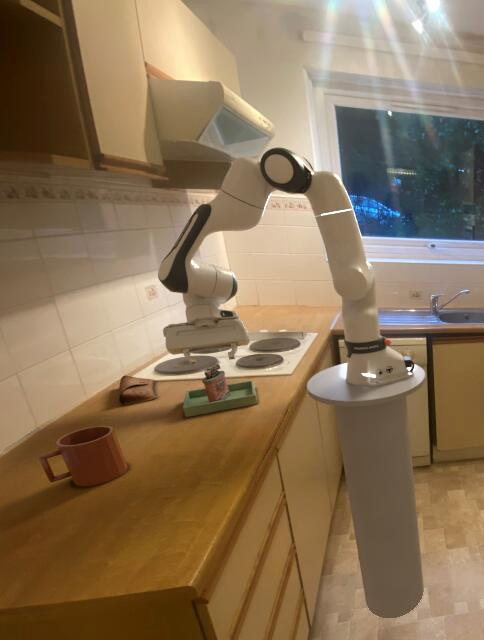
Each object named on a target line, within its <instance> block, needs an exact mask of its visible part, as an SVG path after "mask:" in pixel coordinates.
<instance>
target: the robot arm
mask: <svg viewBox="0 0 484 640" xmlns="http://www.w3.org/2000/svg"><path fill="white" fill-rule="evenodd" d="M276 191H280V192H283V193H285V194H290V195H304V197H305V198H306V199H307V200H308V203H309V204H310V206H311V209H312V212H313V215H314V218H315V221H316V224H317V227H318V230H319V233H320V236H321V239H322V242H323V246H324V249H325V254H326V259H327V263H328V268H329V272H330V276H331V279H332V285H333V288H334V290H335V292H336V293H337V294H338V295H339V296H340V297H341V320H342V327H343V333H344V339H343V342H344V345H343V347H344V352H345V356H346V363H347V376H346V382H348V383H349V384H352V385H360V386H369V387H377V386H381V385H385V384H388V383H392V382H396V381H399V380H403V379H407V378H410V377H413V376H414V371H413V369H414V364H415V362H414V361H413V360H412V358H411V355H405V356H403V355H402V354H401V353H400V352H398V351H397V350H395V349H393V348H392V347H390V346H391V345H392V340H391V339H389V338H388V337H385V336H383V335H381V330H380V329H381V328H380V320H379V308H378V307H379V306H378V287H377V275H376V271H375V268H374V266H373V265H372V264H371V263H370V262H369V261H368V260H367V256H366V251H365V247H364V244H363V237H362V233H361V230H360V227H359V223H358V220H357V217H356V216H357V215H356V214H355V210H354V207H353V204H352V201H351V199H350V195H349V194H348V192H347V188H346V187H345V185H344V183H343V181H342V179H341V178H340V176H339V175H338V174H336V173H335V172H332V171H330V170H329V171H328V170H320V171H319V170H318V171H316V170H314V168H313V166H312V164H311V162H309V160H308V159H307V158H305V157H304V156H302V155H301V154H300V153H298V152H297V151H294V150H292V149H287V148H285V147H272V148H270V149H268V150H266V151H265V152H264V153H263V154H262V156H261V158H260V161H259V160H257V159H256V158H253V157H250V156H239V157H236V158H235V159H234V161H233V162H232V163H231V165H230V167H229V169H228V170H227V172H226V175H225V176H224V178H223V181H222V183H221V186H220V189H219V191H218V194H216V196H215V197H214V198H213V199H212V200H211V201H209V202H207V203H202V204H199V206H198V207H196V209H195V210H194V212H193V213H192V215H191V217H189V219H188V221H187V223H185V226H184V228H183V229H182V231H181V233H180V235H179V236H178V238H177V239H176V241H175V242H174V245H173V246H172V248H171V250H170V251H169V252H168V253H167V255H165V257H164V259H163V260H162V261H161V263H160V265H159V268H158V271H157V277H158V281H159V282H160V283H161V285H163V287H164V288H165V289H167V290H168V291H169V292H171V293H176V294H182V300H183V301H182V302H183V303H184V305H185V318H186V322H179V323H169V324H168V325H166V326H164V328H163V329H162V333H163V337H164V338H165V348H166V350H167V352H168V353H169V354H171V355H184V357H185V358H186V359H187V360H188V362H189V365H190V366H196V365H198V362H197V358H196V356H191V353H198V352H204V351H212V350H220V349H227V348H228V349H229V348H231V350H230V351H228V352H227V356H228V359H229V360H230V361H231V360H236V353H237V351H238V347H244V346H248V345H249V343H250V342H251V341H250V338H249V333H248V331H247V328H246V326H245V323H243V321H242V320H241V319H240V316H239V313H238V312H237V311H234V310H227V309H223V308H221V305H224V304H226V303H227V302H228V301H230V300H232V299H233V298H234V297H235V296H236V294H237V293H238V286H239V285H238V280H237V278H236V274H234V272H233V271H232V270H231V269H229V268H226V267H222V266H220V265H219V266H218V265H215V264H210V263H206V262H202V261H199V260H195V259H194V257H195V256H196V254H197V252H198V250H199V249H200V247H201V245H202V244H203V242H204V240H205V239H206V238H207V237H208V236H209V235H212V234H214V233H219V232H242V231H243V232H244V231H248V230H251V229H253V228H255V227H256V226H257V225H259V223H260V222H261V220H262V218H263V216H264V212H265V210H266V207H267V204H268V202H269V199H270V197H271V195H272V194H273V193H274V192H276ZM411 367H412V368H411Z"/></svg>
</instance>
